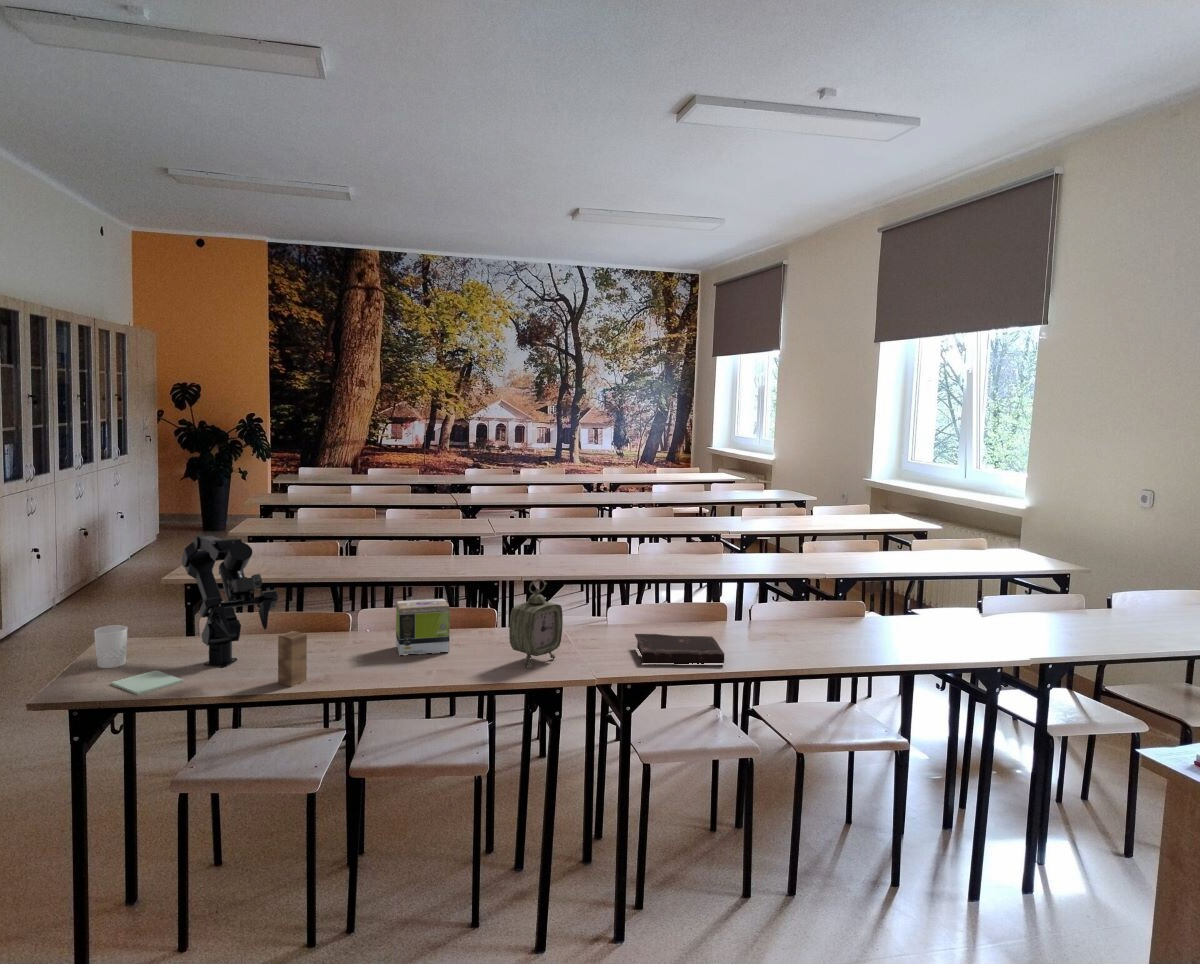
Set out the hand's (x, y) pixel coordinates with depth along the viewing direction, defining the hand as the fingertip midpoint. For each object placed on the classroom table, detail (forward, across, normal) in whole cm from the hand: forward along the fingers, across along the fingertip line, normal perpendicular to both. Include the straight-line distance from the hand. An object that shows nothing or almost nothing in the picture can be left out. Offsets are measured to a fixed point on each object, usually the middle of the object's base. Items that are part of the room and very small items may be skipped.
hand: (247, 631), depth 219 cm
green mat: (0, -20, +21) cm, 29 cm away
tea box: (+10, +52, +10) cm, 54 cm away
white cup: (-13, -24, +37) cm, 46 cm away
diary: (+43, +113, -26) cm, 124 cm away
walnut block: (+14, +10, +6) cm, 18 cm away
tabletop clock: (+29, +73, -10) cm, 79 cm away
